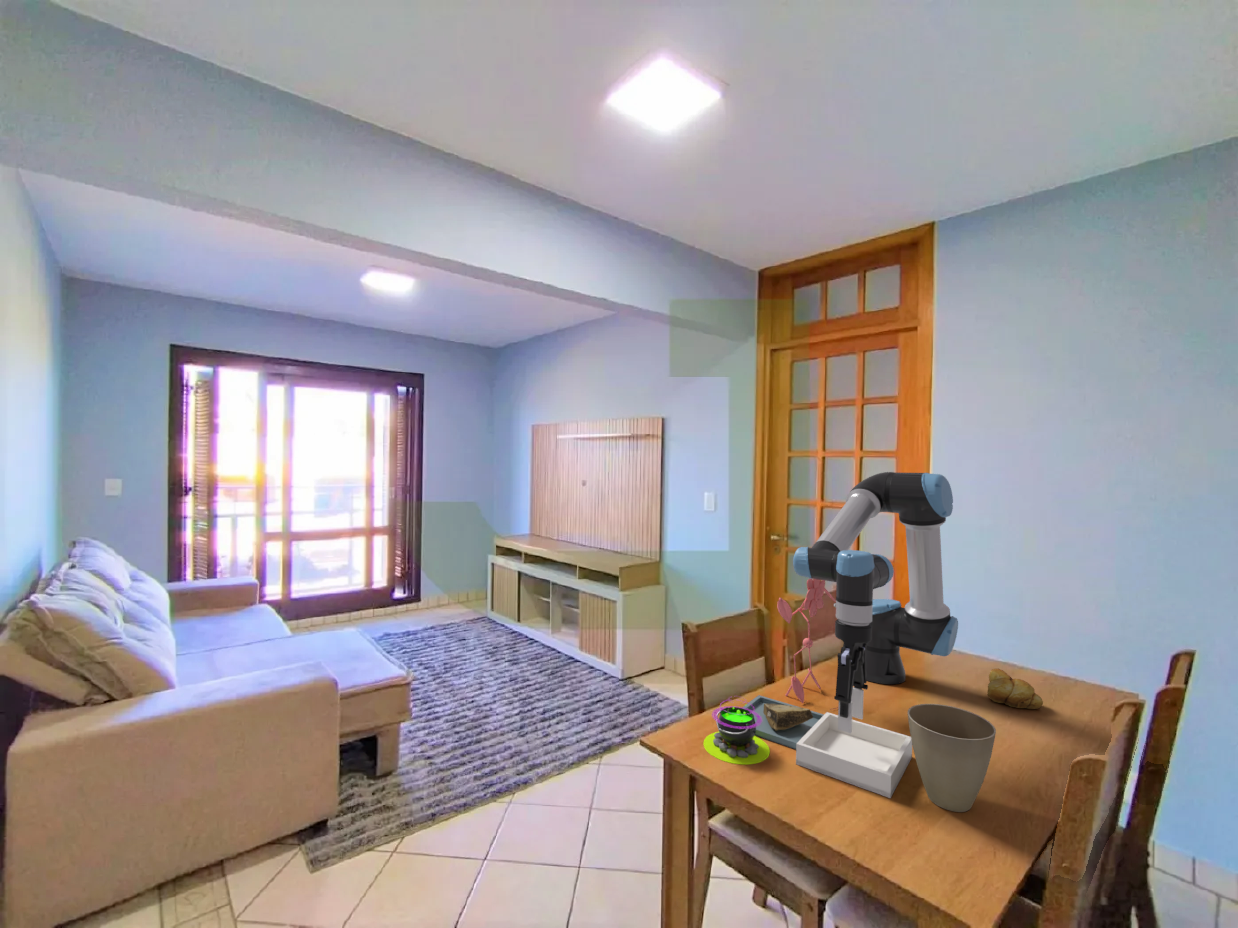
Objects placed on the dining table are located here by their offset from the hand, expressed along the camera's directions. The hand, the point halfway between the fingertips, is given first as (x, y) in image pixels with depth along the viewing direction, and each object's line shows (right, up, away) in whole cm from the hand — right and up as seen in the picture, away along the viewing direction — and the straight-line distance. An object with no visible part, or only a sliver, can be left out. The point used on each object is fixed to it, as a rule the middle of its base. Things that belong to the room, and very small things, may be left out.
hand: (850, 723), depth 124 cm
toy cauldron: (-24, -8, +5) cm, 26 cm away
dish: (+1, -8, 0) cm, 8 cm away
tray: (-11, -8, +16) cm, 21 cm away
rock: (-13, -9, +19) cm, 25 cm away
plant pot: (+13, -9, -15) cm, 21 cm away
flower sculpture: (+3, -8, +31) cm, 33 cm away
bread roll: (+58, -9, +31) cm, 66 cm away
